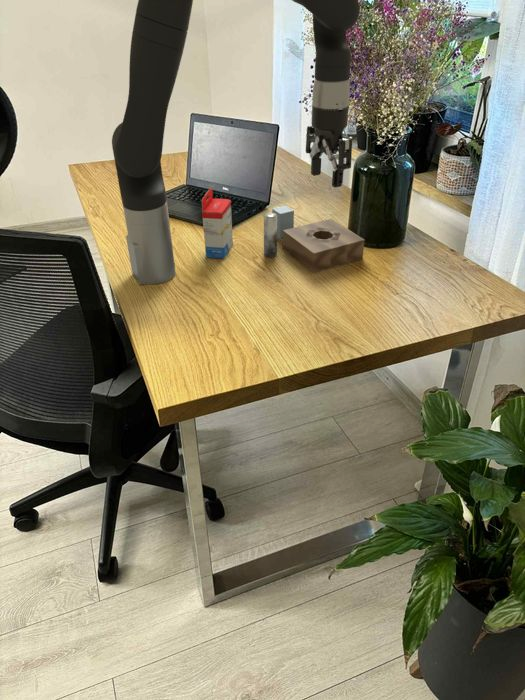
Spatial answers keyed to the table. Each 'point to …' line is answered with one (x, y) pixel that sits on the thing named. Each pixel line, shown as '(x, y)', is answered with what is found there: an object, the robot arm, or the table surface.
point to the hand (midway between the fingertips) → (326, 180)
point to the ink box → (217, 225)
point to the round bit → (270, 234)
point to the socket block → (323, 245)
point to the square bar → (283, 219)
